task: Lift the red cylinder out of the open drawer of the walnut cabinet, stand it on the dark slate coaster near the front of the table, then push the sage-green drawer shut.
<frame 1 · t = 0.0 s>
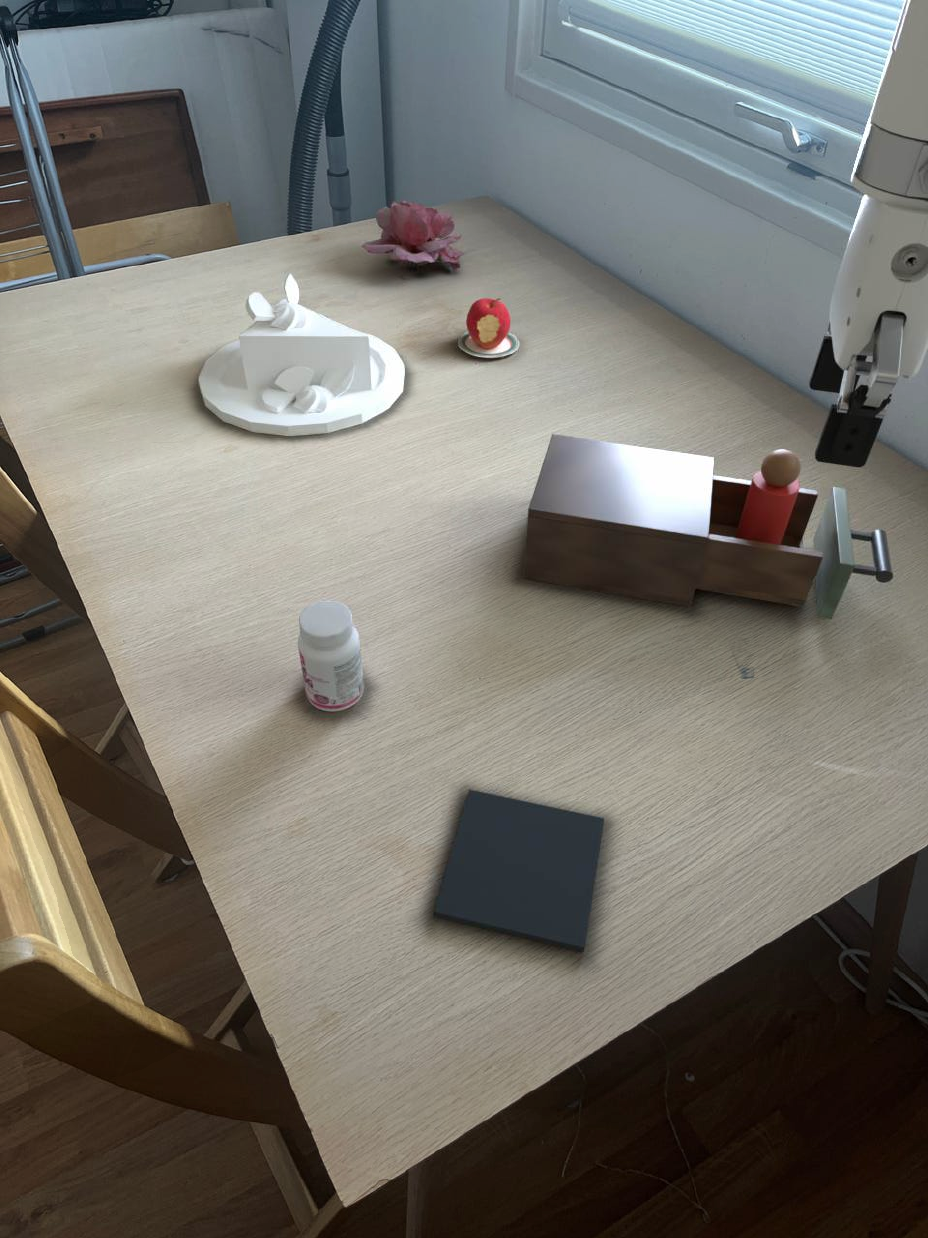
hand: (834, 424, 62), 22 cm above the table, tool pointing down, fingers open, 9 cm apart
apple: (488, 347, 116), on the table
coaster: (522, 867, 61), on the table
drawer: (780, 543, 80), point 4 cm above the table, slide at 11.0 cm, touching red cylinder
dish: (304, 382, 108), on the table
red cylinder: (752, 556, 82), point 2 cm above the table, touching drawer
pill bottle: (335, 692, 72), on the table
cabinet: (613, 550, 86), on the table
flower: (416, 271, 133), on the table
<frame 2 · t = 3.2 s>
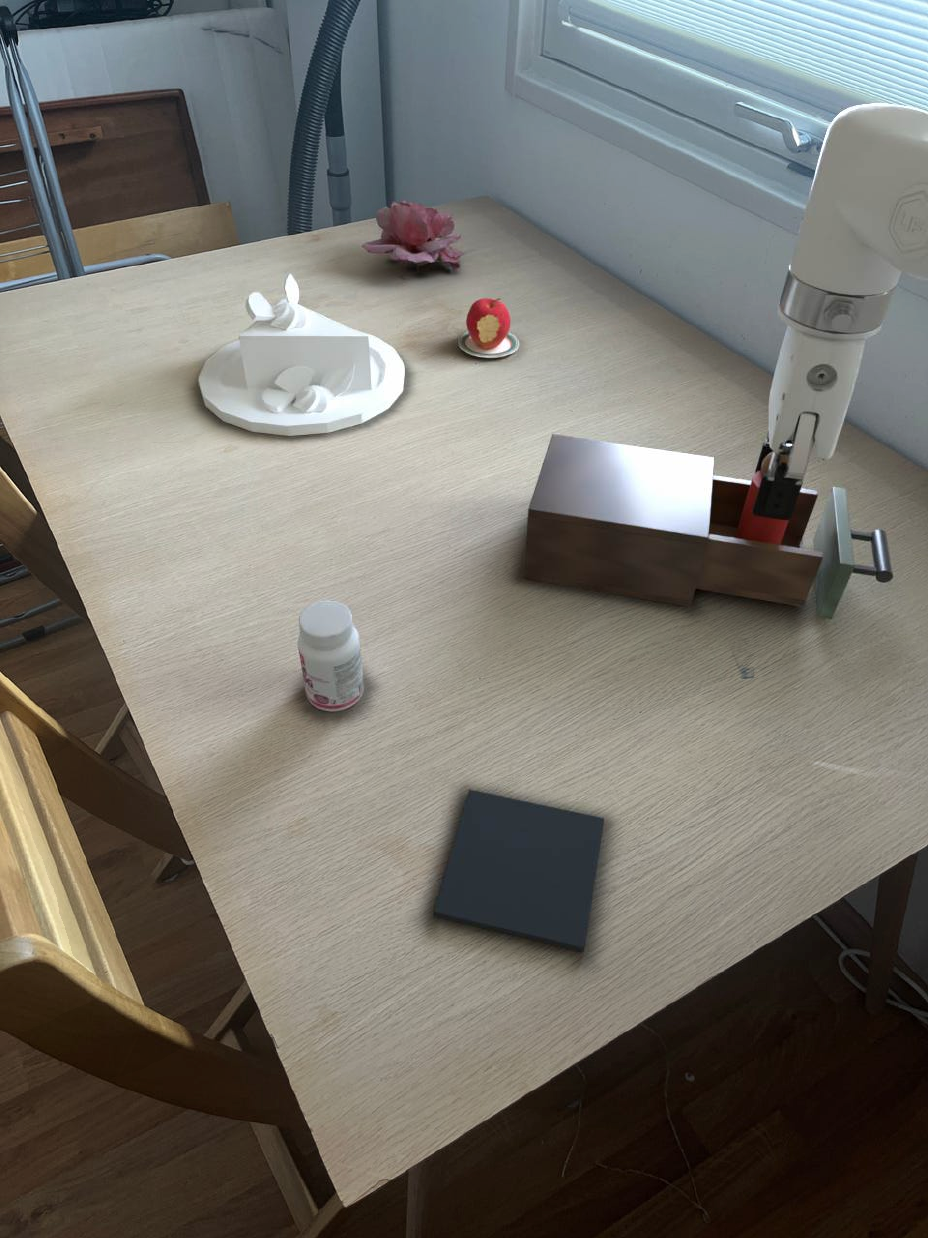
hand: (771, 498, 77), 9 cm above the table, tool pointing down, fingers closed on red cylinder, 4 cm apart
red cylinder: (752, 556, 82), point 2 cm above the table, touching drawer, gripper
everything else where it was.
when the fingers open (7 cm above the table, at t = 10.9 s): red cylinder stays where it is, resting on coaster.
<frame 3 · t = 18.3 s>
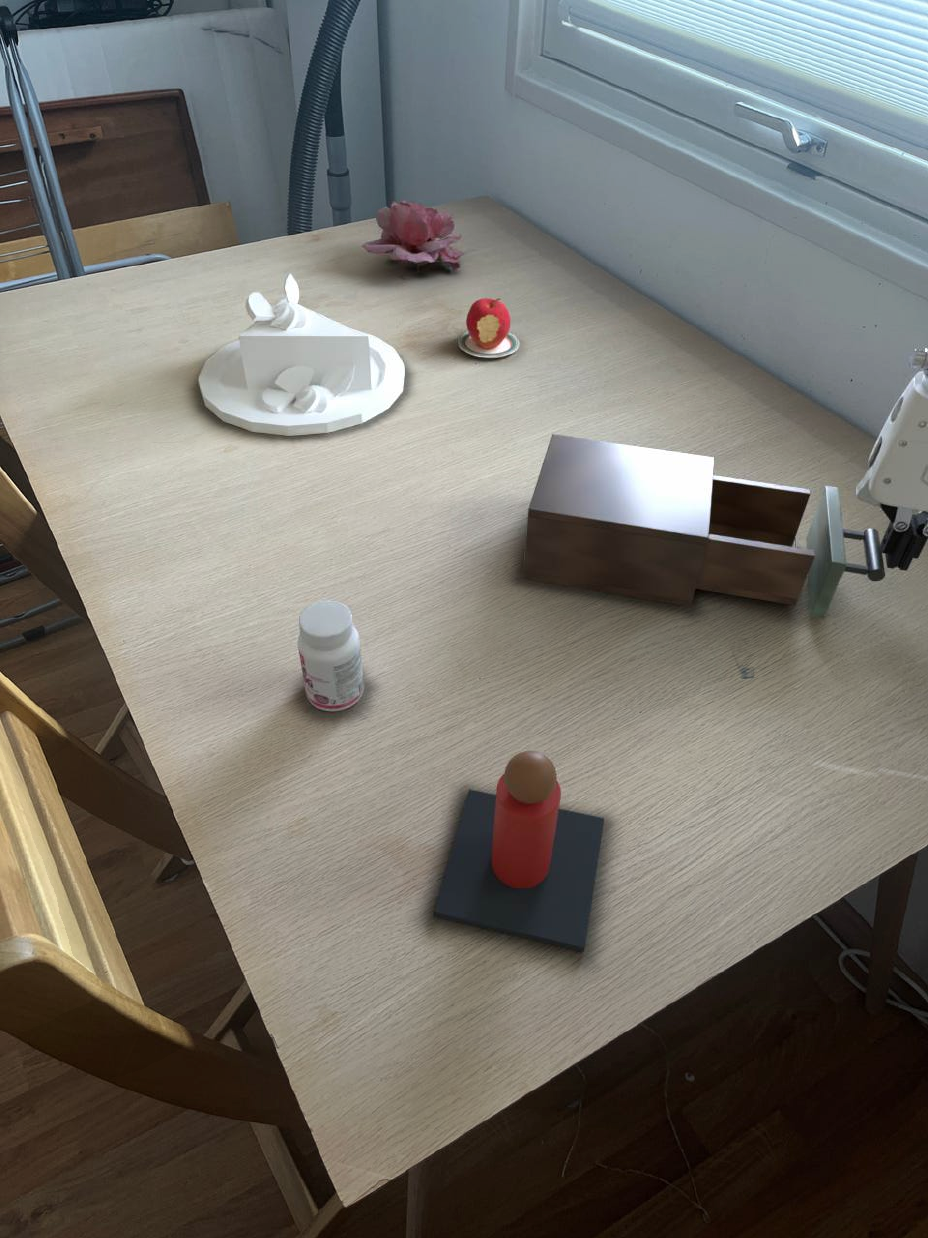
hand: (895, 559, 79), 4 cm above the table, tool pointing down, fingers closed
drawer: (773, 542, 81), point 4 cm above the table, slide at 10.3 cm, touching gripper
red cylinder: (520, 862, 60), point 1 cm above the table, touching coaster
everything else where it was.
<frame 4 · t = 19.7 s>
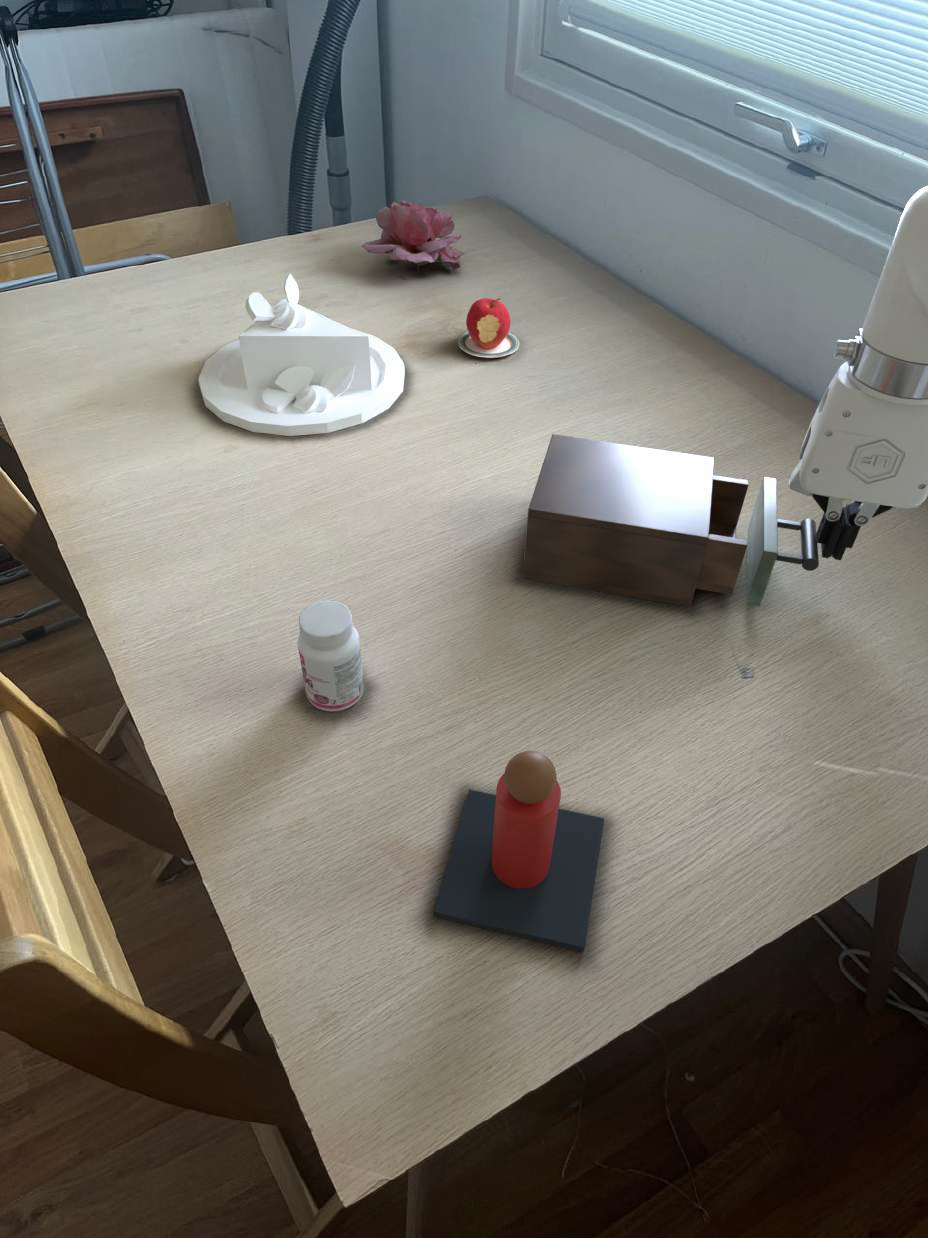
hand: (830, 549, 80), 4 cm above the table, tool pointing down, fingers closed
drawer: (711, 532, 81), point 4 cm above the table, slide at 4.7 cm, touching gripper
everything else where it was.
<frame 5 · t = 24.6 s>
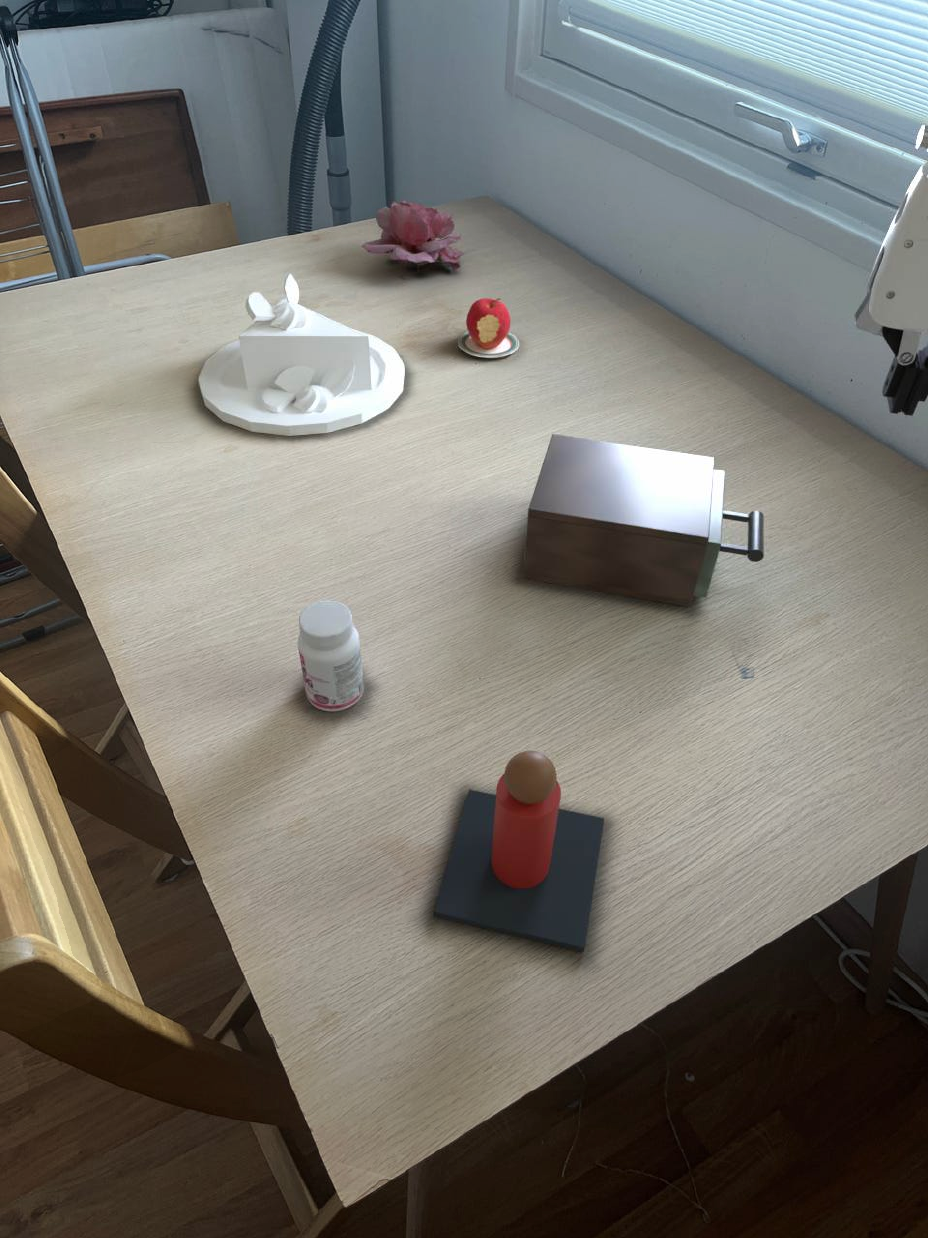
hand: (899, 405, 69), 19 cm above the table, tool pointing down, fingers closed
drawer: (660, 524, 82), point 4 cm above the table, slide at 0.0 cm
everything else where it was.
at the end: red cylinder inside the target area on the coaster (0.2 cm from its centre), point 0.6 cm above the coaster's base; red cylinder tilted 0°; drawer slide at 0.0 cm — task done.
